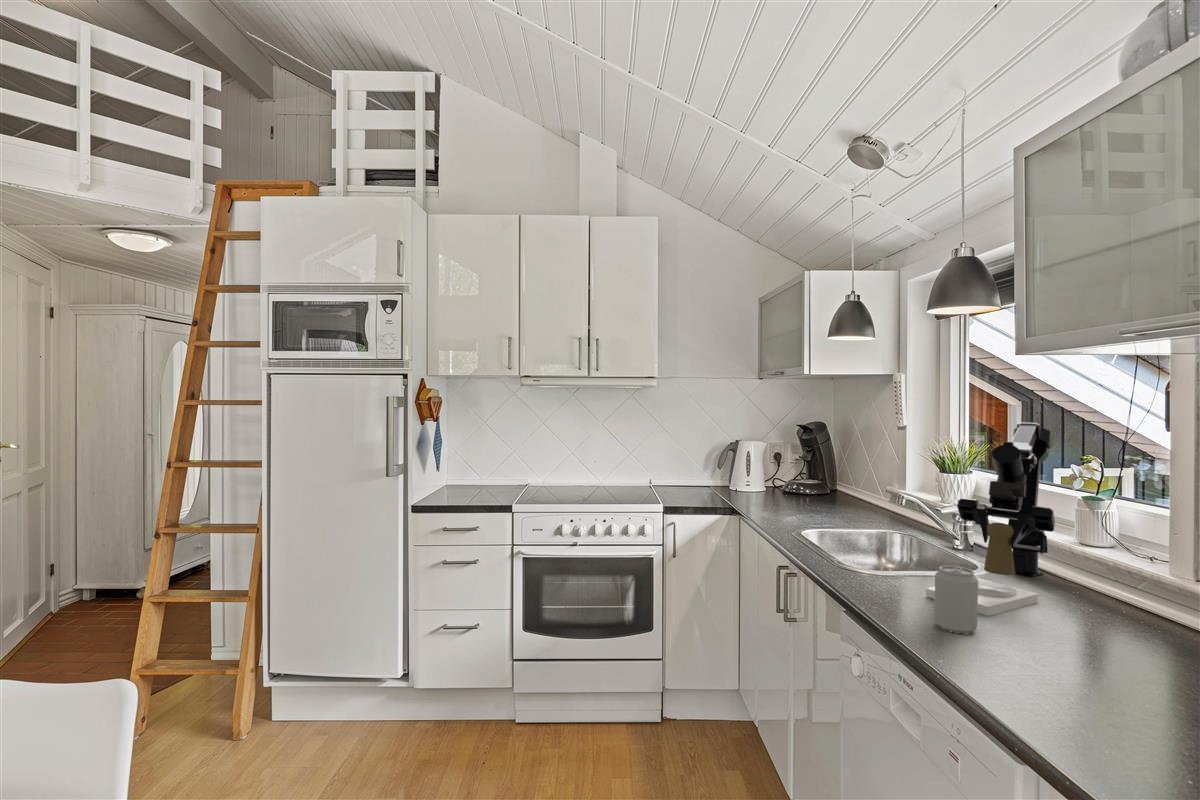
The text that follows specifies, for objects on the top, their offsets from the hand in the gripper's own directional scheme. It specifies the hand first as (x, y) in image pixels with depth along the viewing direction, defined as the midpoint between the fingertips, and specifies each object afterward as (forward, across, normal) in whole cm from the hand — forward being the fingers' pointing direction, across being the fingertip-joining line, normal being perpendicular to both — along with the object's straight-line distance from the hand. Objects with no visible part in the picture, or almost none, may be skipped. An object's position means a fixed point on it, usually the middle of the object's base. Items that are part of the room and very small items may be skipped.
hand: (998, 543), depth 142 cm
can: (+28, -2, -9) cm, 29 cm away
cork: (+4, 0, +6) cm, 7 cm away
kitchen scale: (+10, -3, +9) cm, 14 cm away
